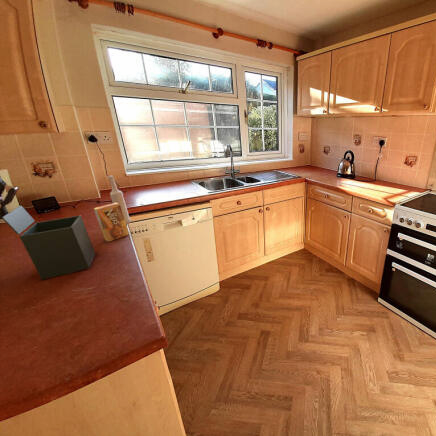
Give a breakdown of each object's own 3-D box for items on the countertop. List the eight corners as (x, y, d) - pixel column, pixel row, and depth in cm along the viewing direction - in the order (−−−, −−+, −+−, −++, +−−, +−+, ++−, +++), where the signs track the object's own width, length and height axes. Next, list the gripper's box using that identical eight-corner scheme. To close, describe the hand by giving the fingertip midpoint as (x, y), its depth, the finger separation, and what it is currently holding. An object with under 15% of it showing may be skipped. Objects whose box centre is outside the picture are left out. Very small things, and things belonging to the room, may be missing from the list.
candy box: (125, 232, 116) (116, 202, 110) (129, 234, 114) (120, 203, 108) (104, 239, 110) (93, 208, 104) (108, 242, 107) (96, 209, 102)
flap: (19, 234, 76) (17, 234, 76) (34, 220, 87) (33, 221, 87) (2, 217, 73) (1, 217, 73) (21, 205, 84) (19, 205, 84)
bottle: (119, 225, 124) (103, 177, 115) (119, 222, 128) (104, 175, 119) (131, 223, 127) (116, 176, 117) (131, 220, 131) (117, 174, 121)
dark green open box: (41, 279, 83) (19, 236, 76) (53, 262, 93) (35, 222, 87) (89, 268, 88) (71, 227, 82) (95, 252, 99) (80, 215, 93)
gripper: (11, 160, 77) (35, 210, 84) (-51, 165, 72) (-20, 219, 78) (-1, 163, 71) (26, 217, 78) (-70, 169, 65) (-34, 227, 72)
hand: (3, 218), depth 78 cm, fingers closed
